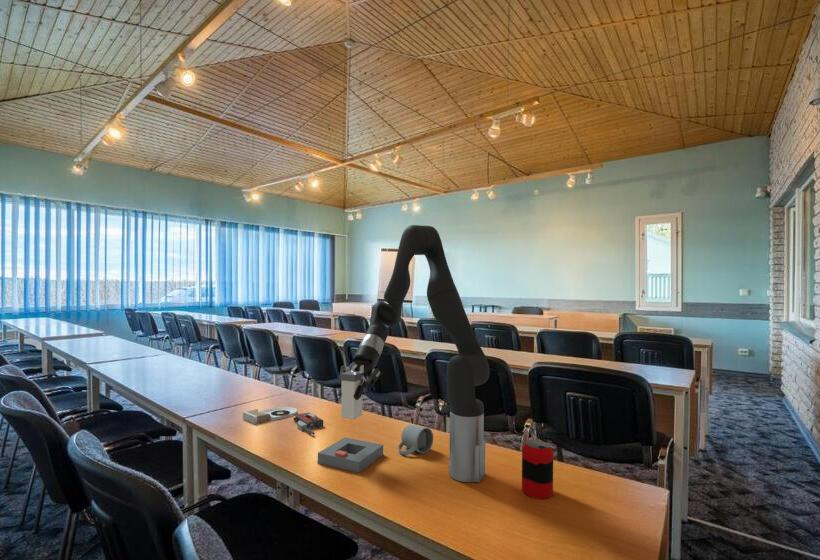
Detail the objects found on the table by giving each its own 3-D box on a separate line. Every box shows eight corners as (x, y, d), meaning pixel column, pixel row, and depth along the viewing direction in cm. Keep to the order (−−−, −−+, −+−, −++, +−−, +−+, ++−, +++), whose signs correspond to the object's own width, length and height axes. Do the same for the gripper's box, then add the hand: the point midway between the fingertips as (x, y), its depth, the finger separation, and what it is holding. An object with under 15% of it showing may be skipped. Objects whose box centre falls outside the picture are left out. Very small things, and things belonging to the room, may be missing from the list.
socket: (383, 454, 127) (383, 442, 127) (358, 472, 114) (359, 459, 114) (344, 446, 132) (345, 434, 133) (317, 463, 120) (317, 450, 120)
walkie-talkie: (288, 423, 156) (310, 438, 140) (288, 411, 156) (311, 425, 140) (309, 418, 161) (334, 433, 146) (309, 407, 161) (334, 420, 146)
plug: (362, 415, 125) (363, 372, 126) (354, 419, 121) (354, 374, 121) (349, 413, 127) (349, 370, 128) (340, 417, 123) (340, 373, 123)
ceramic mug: (415, 442, 137) (415, 419, 137) (433, 449, 131) (433, 425, 131) (391, 451, 129) (391, 427, 129) (410, 459, 124) (410, 434, 124)
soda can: (532, 501, 100) (532, 451, 100) (516, 486, 107) (516, 440, 107) (559, 497, 102) (559, 448, 102) (541, 483, 109) (541, 437, 110)
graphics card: (241, 411, 159) (286, 401, 175) (241, 419, 159) (286, 408, 175) (257, 417, 152) (302, 407, 167) (256, 426, 152) (302, 414, 167)
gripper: (346, 343, 135) (323, 388, 123) (384, 345, 129) (364, 393, 117) (354, 357, 139) (333, 401, 128) (392, 360, 133) (373, 407, 122)
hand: (348, 397), depth 123 cm, fingers closed on plug, 4 cm apart
